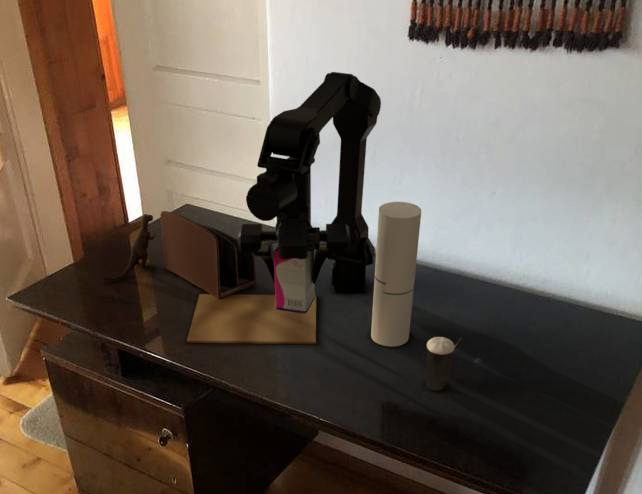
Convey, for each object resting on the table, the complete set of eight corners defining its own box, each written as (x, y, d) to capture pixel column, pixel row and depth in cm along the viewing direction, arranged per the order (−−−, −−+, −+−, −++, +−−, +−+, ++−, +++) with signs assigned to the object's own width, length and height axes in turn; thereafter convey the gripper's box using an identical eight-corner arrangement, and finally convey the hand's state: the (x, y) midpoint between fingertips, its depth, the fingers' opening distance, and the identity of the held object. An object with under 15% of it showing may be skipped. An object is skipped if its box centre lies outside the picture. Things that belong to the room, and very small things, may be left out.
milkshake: (453, 395, 124) (460, 345, 118) (421, 391, 124) (427, 341, 118) (454, 380, 127) (461, 330, 121) (423, 376, 128) (428, 327, 122)
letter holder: (219, 300, 149) (214, 234, 141) (164, 269, 161) (156, 206, 152) (257, 285, 154) (254, 220, 146) (201, 256, 166) (195, 195, 158)
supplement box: (315, 297, 133) (315, 240, 126) (306, 314, 129) (305, 256, 122) (285, 293, 135) (283, 236, 127) (275, 309, 130) (272, 251, 123)
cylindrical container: (387, 322, 143) (397, 198, 128) (416, 336, 139) (430, 209, 124) (363, 336, 139) (370, 209, 124) (392, 350, 135) (403, 221, 120)
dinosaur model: (155, 212, 156) (99, 239, 147) (166, 262, 163) (112, 290, 154) (143, 208, 158) (87, 234, 149) (154, 258, 165) (101, 285, 156)
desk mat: (316, 297, 151) (316, 295, 151) (315, 344, 136) (315, 341, 136) (199, 296, 151) (199, 294, 151) (187, 342, 137) (186, 340, 136)
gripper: (231, 218, 113) (238, 306, 123) (352, 217, 113) (349, 306, 123) (237, 190, 122) (243, 274, 132) (349, 190, 122) (347, 274, 131)
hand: (294, 282), depth 129 cm, fingers closed on supplement box, 6 cm apart
